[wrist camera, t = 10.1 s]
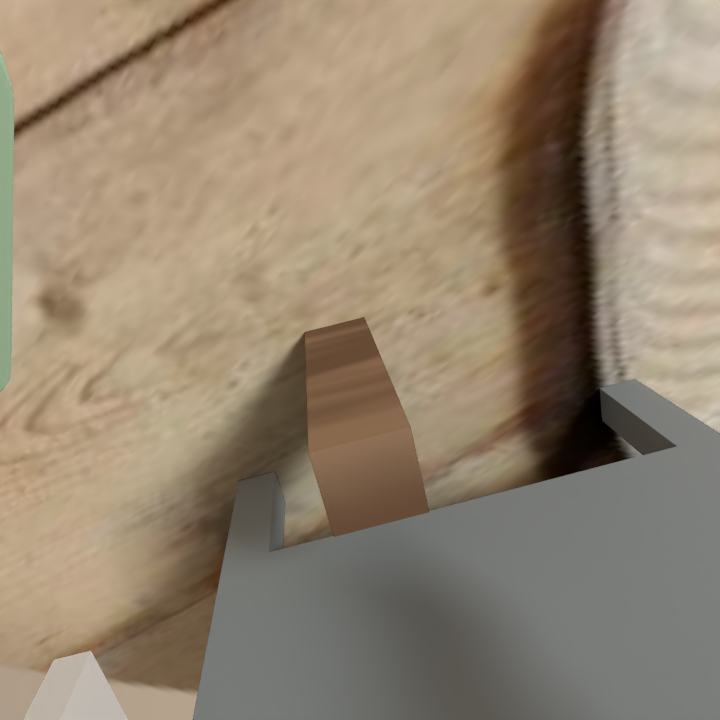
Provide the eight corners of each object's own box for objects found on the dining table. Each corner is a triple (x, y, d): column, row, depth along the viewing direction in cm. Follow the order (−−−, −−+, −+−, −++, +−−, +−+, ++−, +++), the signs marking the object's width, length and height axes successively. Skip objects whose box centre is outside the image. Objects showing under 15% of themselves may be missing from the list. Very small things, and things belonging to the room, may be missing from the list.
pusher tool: (275, 339, 27) (257, 466, 16) (393, 309, 27) (461, 413, 16) (357, 615, 33) (387, 846, 22) (453, 589, 33) (532, 807, 22)
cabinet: (635, 379, 30) (1211, 748, 11) (643, 541, 34) (1081, 1019, 15) (238, 481, 29) (129, 1046, 10) (293, 633, 33) (285, 1246, 14)
